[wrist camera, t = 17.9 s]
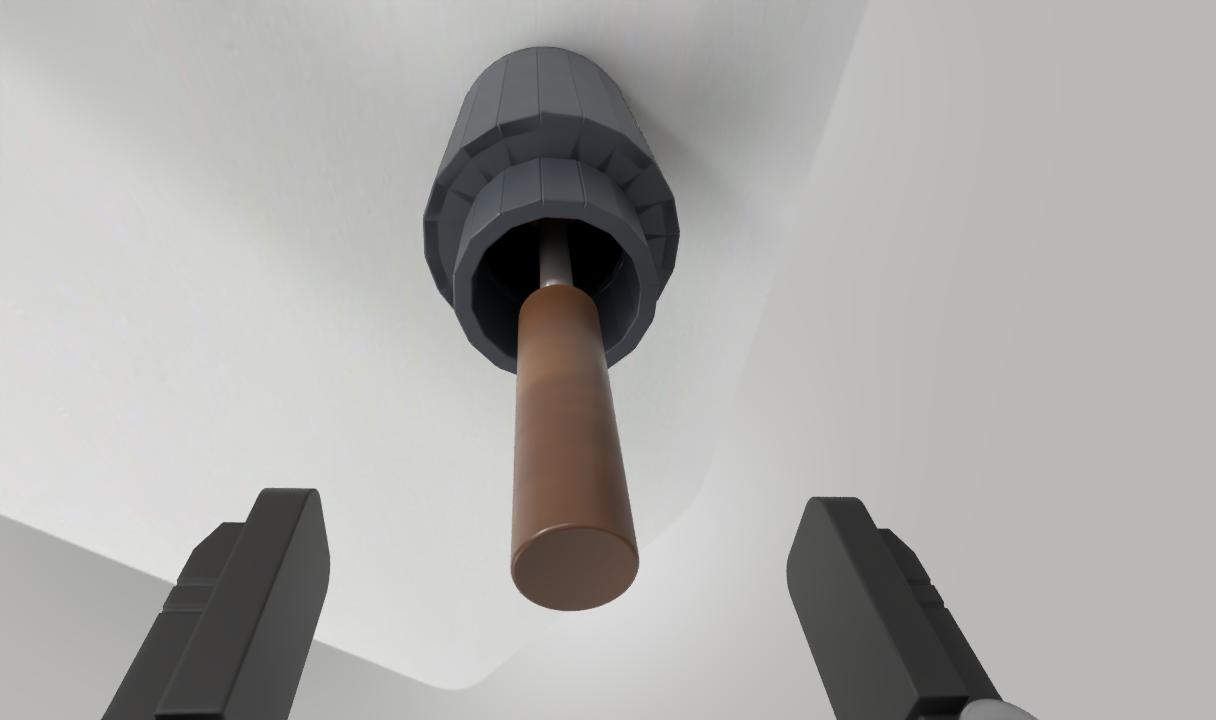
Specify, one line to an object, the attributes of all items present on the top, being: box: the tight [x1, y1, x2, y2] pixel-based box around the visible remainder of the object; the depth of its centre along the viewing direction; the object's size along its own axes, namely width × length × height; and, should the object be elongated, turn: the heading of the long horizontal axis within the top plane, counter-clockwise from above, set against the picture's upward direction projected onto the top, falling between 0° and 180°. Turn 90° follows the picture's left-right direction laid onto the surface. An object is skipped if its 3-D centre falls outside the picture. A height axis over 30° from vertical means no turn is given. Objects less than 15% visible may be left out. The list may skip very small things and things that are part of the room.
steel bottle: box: [423, 47, 680, 375], centre depth 25 cm, size 8×8×16 cm
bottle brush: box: [511, 217, 639, 611], centre depth 21 cm, size 3×3×24 cm
